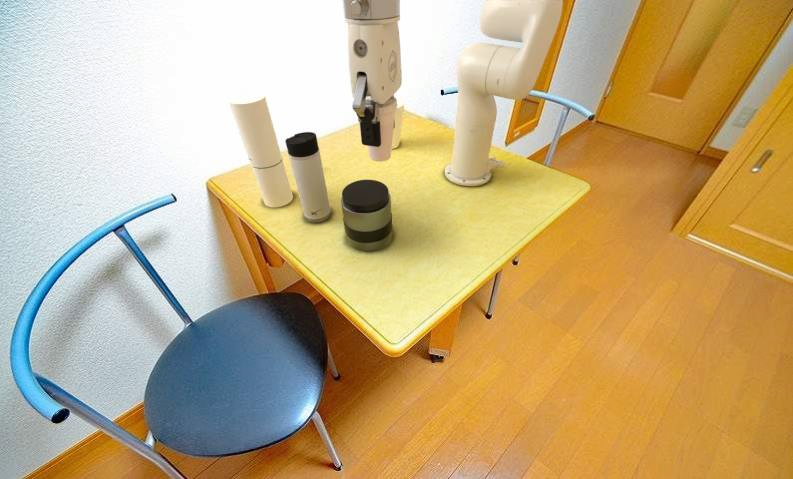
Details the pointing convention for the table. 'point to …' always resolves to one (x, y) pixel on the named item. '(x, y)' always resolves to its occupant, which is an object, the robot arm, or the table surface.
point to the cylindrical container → (261, 147)
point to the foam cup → (397, 124)
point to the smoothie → (384, 129)
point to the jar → (367, 215)
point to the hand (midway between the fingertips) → (378, 135)
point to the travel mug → (309, 176)
